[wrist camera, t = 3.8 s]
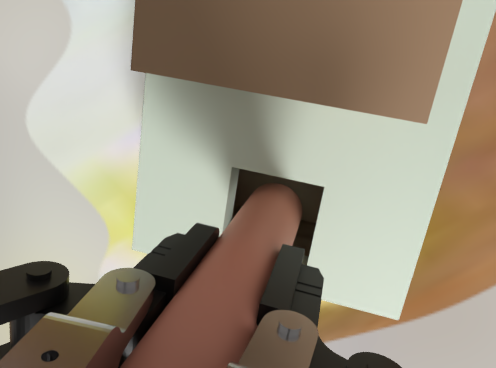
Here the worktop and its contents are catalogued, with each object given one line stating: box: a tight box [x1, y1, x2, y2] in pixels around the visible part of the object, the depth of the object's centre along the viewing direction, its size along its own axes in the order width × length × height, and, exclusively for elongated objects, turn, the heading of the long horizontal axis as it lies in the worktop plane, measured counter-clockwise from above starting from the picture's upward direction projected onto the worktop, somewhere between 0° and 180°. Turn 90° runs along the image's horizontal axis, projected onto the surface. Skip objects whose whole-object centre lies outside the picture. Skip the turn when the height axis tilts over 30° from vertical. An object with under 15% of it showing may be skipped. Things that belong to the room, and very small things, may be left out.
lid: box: [131, 0, 496, 320], centre depth 15 cm, size 14×12×6 cm
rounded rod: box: [120, 183, 303, 368], centre depth 13 cm, size 2×2×12 cm
